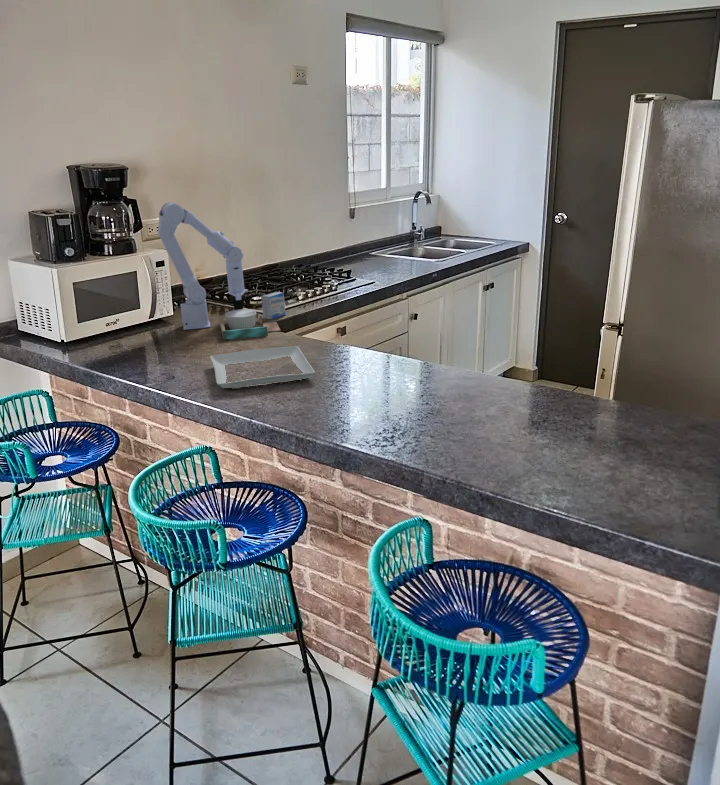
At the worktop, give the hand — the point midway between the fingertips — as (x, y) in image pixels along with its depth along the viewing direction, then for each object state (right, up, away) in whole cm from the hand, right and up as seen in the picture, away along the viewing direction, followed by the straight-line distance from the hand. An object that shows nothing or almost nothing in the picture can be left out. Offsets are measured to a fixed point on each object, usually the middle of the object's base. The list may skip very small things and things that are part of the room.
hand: (239, 315), depth 263 cm
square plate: (+16, -24, -57) cm, 64 cm away
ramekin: (+2, -5, -8) cm, 10 cm away
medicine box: (+13, 0, +3) cm, 13 cm away
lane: (+6, -6, -12) cm, 15 cm away
